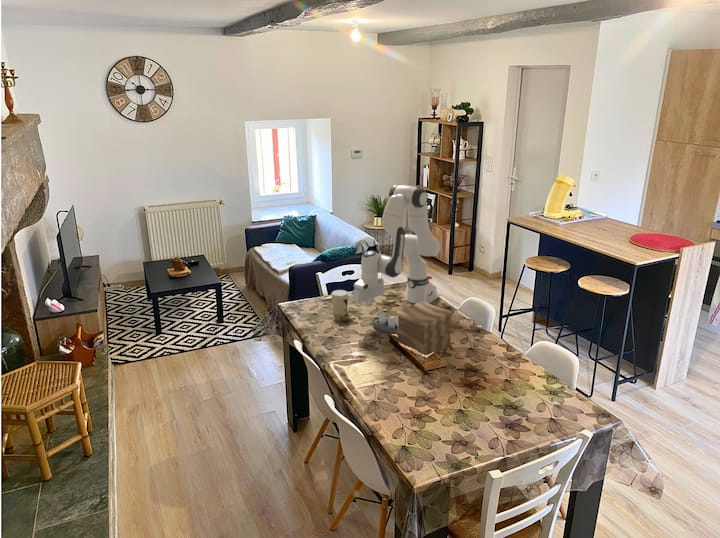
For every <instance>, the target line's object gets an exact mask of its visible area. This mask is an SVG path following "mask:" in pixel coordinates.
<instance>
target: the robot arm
mask: <svg viewBox="0 0 720 538" xmlns="http://www.w3.org/2000/svg"><path fill="white" fill-rule="evenodd" d="M388 197H389V198H388V199H387V202H386V204H385V207H384V210H383V214H382V216H381V217H382V218H381V225H382V228H383V229H384V230H385V232H386V233H388V234H389V235H390V236H391V238H392V240H393V246H392V253H391V256H388V255H386V254H382V253H378V252H376V251H375V250H366V251H365V252H363V253H362V256H361V260H360V263H361V264H360V269H361V274H360V278H359V279H358V280H357V281H356V282H354V283H353V288H354V289H353V293H352V294H353V296H352V297H353V298H352V299H353V302H354V303H357V304H360V303H364V302H365V304H366V305H365V306H366V307H367V308H369V307H372V306H373V304H374V301H375V298H378V297H380V296H383V295H384V294H385V292H386V291H385V290H386V289H385V283H384V282H385V281H384V280H385V279H383V278H382V277H379V274H383V275H386V276H388V277H390V278H396V277H398V276H399V275H401V273H402V272H403V270H404V269H403V267H404V265H403V258H404V257H405V260H406V262H407V270H408V271H407V274H408V275H407V278H406V279H407V280H406V281H407V283H406V290H405V293H404V300H405V301H407V302H408V303H410V304H416V303H419V302H421V301H423V302H426V303H429V304H431V303H432V302H434V301H436V299H438V298H439V297H441V293H440V292H438V291H437V285H435V284H434V283H432V282H430V281H431V280H432V279H433V276H432V275H428V264H427V262H426V261H425V260H424V259H423V258H422V256H423V257H435V256H437V255H438V254H439V253H440V250H441V244H440V241H439V240H438V239H437V238H436V237H435V236H434V235H433V233H432V231H431V230H430V226H429V217H428V215H429V214H428V213H429V212H428V204H427V203H428V202H427V201H428V193H427V191H426V190H425V189H424V188H421V187H417V186H414V185H408V184H407V185H406V184H405V185H404V184H394V185H392V187H390V190H389V192H388ZM406 207H407V226H408V228H409V230H411V231H412V232H413V233H415V234H410V233H408V234H407V233H406V230H405V229H404V219H405V214H406ZM403 256H404V257H403Z"/></svg>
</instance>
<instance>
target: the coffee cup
mask: <svg viewBox="0 0 720 538" xmlns="http://www.w3.org/2000/svg"><path fill="white" fill-rule="evenodd" d="M330 295H331V303H332V312H333V313H332V314H334V315H336V316H344V315H346V314H348V300H349V298H348V297H349V293H348V291H347V290H344V289H336V290H333V291H332V292H331V294H330Z"/></svg>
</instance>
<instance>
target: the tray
mask: <svg viewBox="0 0 720 538" xmlns="http://www.w3.org/2000/svg"><path fill="white" fill-rule="evenodd" d="M378 316H379V317H378V320H376V321H375V320H374V321H373V328H374V329H376V330H378V331H380V332H383V333H385V334H387V335H389V334H397V335H398V320H397V323H396V317H395V316H393V315H389V316H388V317H387V313H386V312H382V311H381V312H380V313H379V314H378ZM387 319H388V320H387Z"/></svg>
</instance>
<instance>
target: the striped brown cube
mask: <svg viewBox="0 0 720 538" xmlns="http://www.w3.org/2000/svg"><path fill="white" fill-rule="evenodd" d="M395 316H398V319H397V321H398V338H397V343H398V342H400V343H402V344H404V345H406V346H408V347H411V348H413V349H415V350H417V351H418V352H420V353H422V354H424V355H428V354H430V353H432V352H434V353H436V354H437V353H439V352H442V351H443V350H445V349H447V348H448V347H450V346H451V330H452V316H453V311H451V310H448V309H445V308H443V307H439V306H437V305H433V304H431V303H426V302H423V301H421V302H419V303H413V304H412V305H409V306H407V307H405V308H402V309H400V310H398V311H396V314H395Z"/></svg>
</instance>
